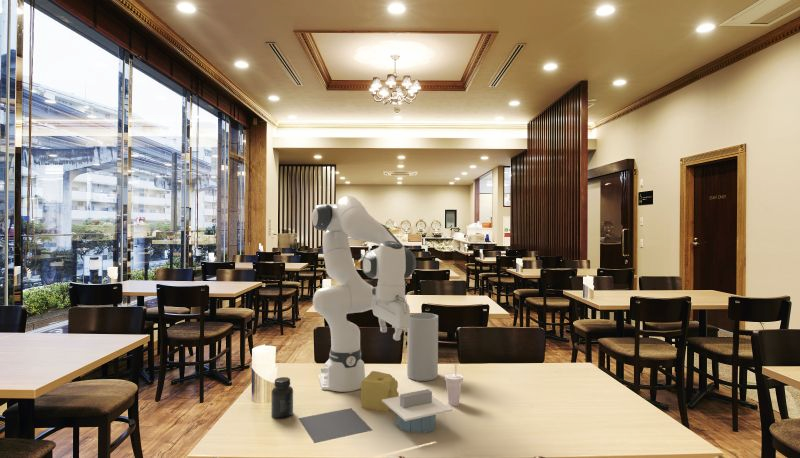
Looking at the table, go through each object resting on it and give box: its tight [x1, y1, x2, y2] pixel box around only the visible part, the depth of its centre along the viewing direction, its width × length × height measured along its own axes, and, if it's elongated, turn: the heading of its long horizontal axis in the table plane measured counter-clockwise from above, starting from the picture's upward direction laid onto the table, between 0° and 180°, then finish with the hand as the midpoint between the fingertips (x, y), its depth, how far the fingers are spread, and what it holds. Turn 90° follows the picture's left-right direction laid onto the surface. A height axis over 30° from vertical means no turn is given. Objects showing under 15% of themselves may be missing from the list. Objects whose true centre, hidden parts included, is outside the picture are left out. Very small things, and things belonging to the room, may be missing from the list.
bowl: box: [396, 414, 436, 434], centre depth 141 cm, size 12×12×6 cm
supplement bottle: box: [270, 376, 294, 420], centre depth 147 cm, size 7×7×12 cm
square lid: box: [382, 389, 453, 421], centre depth 141 cm, size 16×16×4 cm
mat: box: [298, 407, 373, 444], centre depth 141 cm, size 18×18×1 cm
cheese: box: [360, 370, 400, 412], centre depth 156 cm, size 10×11×10 cm
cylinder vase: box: [406, 312, 439, 382], centre depth 186 cm, size 12×12×25 cm
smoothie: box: [444, 363, 464, 407], centre depth 158 cm, size 6×6×14 cm
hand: (389, 335), depth 144 cm, fingers open, 8 cm apart
